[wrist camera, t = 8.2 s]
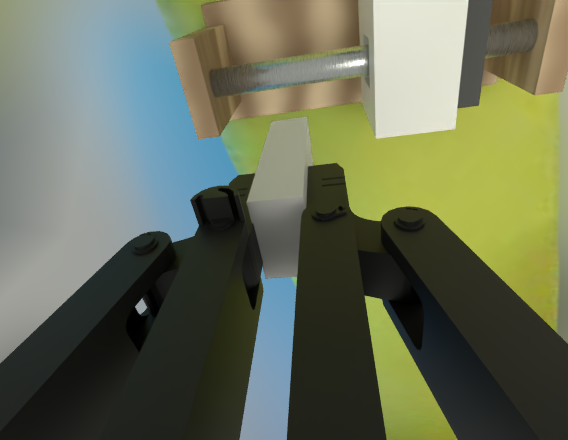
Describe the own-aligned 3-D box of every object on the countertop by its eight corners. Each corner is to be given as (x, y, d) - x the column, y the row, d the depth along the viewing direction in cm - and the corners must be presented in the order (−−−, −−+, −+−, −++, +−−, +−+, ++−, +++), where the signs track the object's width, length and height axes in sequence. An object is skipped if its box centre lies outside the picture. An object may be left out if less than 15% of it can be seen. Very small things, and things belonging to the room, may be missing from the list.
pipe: (211, 97, 34) (203, 106, 32) (203, 65, 33) (194, 71, 30) (530, 50, 30) (549, 56, 28) (538, 11, 28) (558, 13, 26)
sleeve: (362, 103, 37) (375, 138, 29) (357, -11, 31) (372, -9, 23) (422, 95, 36) (455, 129, 28) (428, -24, 31) (471, -26, 22)
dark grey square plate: (426, 85, 34) (451, 109, 28) (431, -7, 30) (462, -4, 24) (448, 82, 34) (478, 105, 28) (456, -11, 30) (494, -10, 24)
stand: (230, 117, 44) (204, 159, 33) (203, 4, 37) (160, 13, 27) (492, 81, 39) (556, 116, 29) (512, -54, 33) (604, -70, 23)
